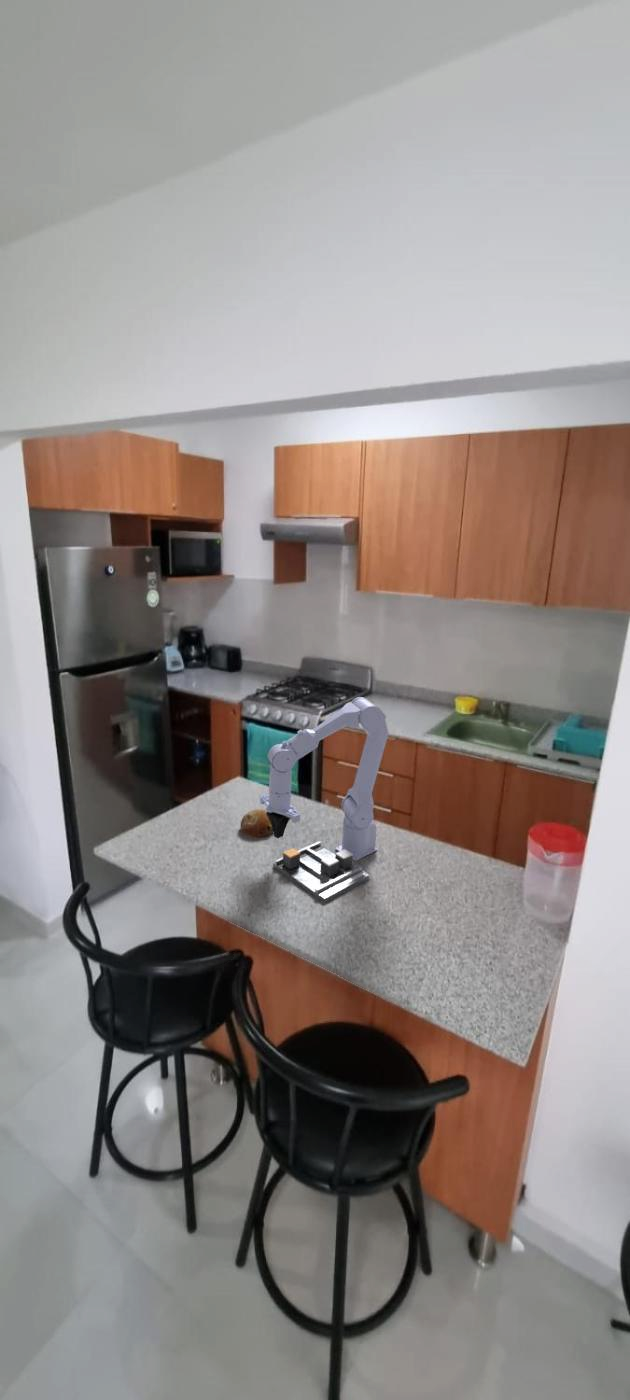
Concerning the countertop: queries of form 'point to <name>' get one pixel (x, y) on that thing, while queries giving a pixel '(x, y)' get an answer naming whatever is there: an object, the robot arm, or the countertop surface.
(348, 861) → the block
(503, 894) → the countertop surface
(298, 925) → the countertop surface
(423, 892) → the countertop surface
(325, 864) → the block
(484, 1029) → the countertop surface
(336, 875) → the panel
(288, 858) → the block
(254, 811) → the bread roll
